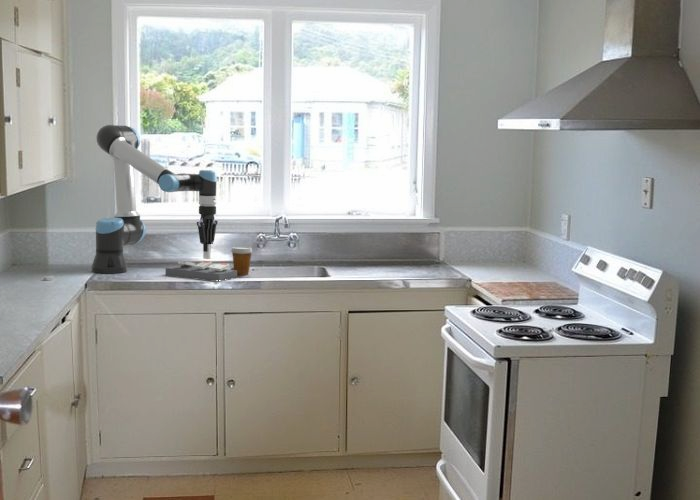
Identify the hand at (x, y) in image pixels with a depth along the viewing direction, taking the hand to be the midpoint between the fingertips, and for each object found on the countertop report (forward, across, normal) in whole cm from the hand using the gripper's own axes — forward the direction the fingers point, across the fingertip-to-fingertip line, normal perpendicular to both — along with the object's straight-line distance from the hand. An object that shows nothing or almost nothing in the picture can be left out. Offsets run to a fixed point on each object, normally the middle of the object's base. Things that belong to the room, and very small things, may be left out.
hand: (206, 258), depth 374 cm
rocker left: (+3, -2, +9) cm, 10 cm away
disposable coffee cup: (+8, +13, -10) cm, 18 cm away
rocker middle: (+3, -2, 0) cm, 4 cm away
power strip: (+8, -4, 0) cm, 8 cm away
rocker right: (+3, -2, -9) cm, 10 cm away
